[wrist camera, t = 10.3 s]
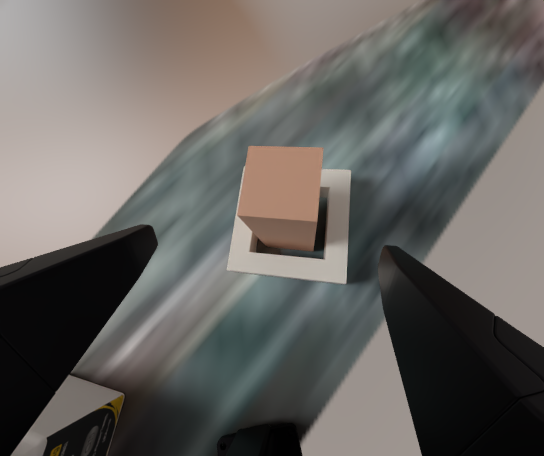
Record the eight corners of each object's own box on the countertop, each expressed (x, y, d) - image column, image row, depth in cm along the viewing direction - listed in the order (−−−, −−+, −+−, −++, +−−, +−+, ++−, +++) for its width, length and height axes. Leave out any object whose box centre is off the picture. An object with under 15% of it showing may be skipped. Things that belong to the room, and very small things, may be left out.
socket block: (341, 284, 21) (346, 283, 18) (235, 272, 23) (226, 270, 20) (346, 182, 23) (350, 170, 21) (250, 178, 25) (243, 166, 23)
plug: (313, 251, 22) (317, 221, 12) (266, 246, 23) (237, 215, 13) (317, 205, 23) (323, 144, 14) (272, 202, 24) (249, 143, 14)
